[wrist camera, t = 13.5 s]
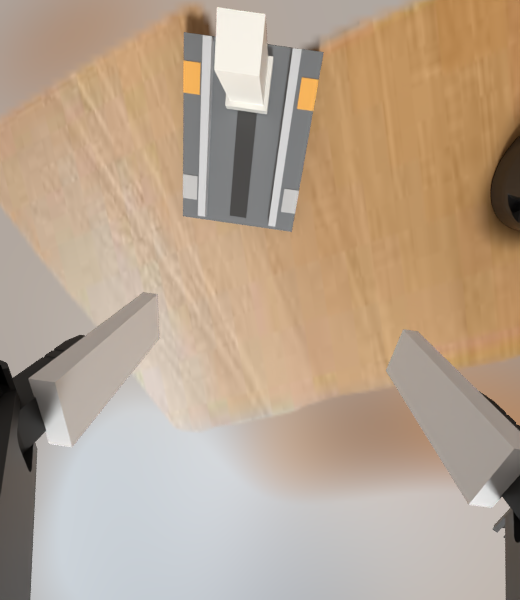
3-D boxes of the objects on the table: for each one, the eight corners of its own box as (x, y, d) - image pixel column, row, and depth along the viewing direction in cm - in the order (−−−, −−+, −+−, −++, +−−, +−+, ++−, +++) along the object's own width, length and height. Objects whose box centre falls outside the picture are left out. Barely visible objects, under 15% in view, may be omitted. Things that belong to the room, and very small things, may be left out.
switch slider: (273, 61, 28) (272, 6, 20) (267, 114, 30) (264, 84, 22) (230, 55, 28) (211, -3, 20) (227, 108, 30) (208, 76, 22)
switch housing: (319, 64, 31) (325, 46, 27) (290, 228, 39) (292, 232, 35) (192, 46, 31) (180, 25, 27) (189, 214, 39) (180, 216, 35)
